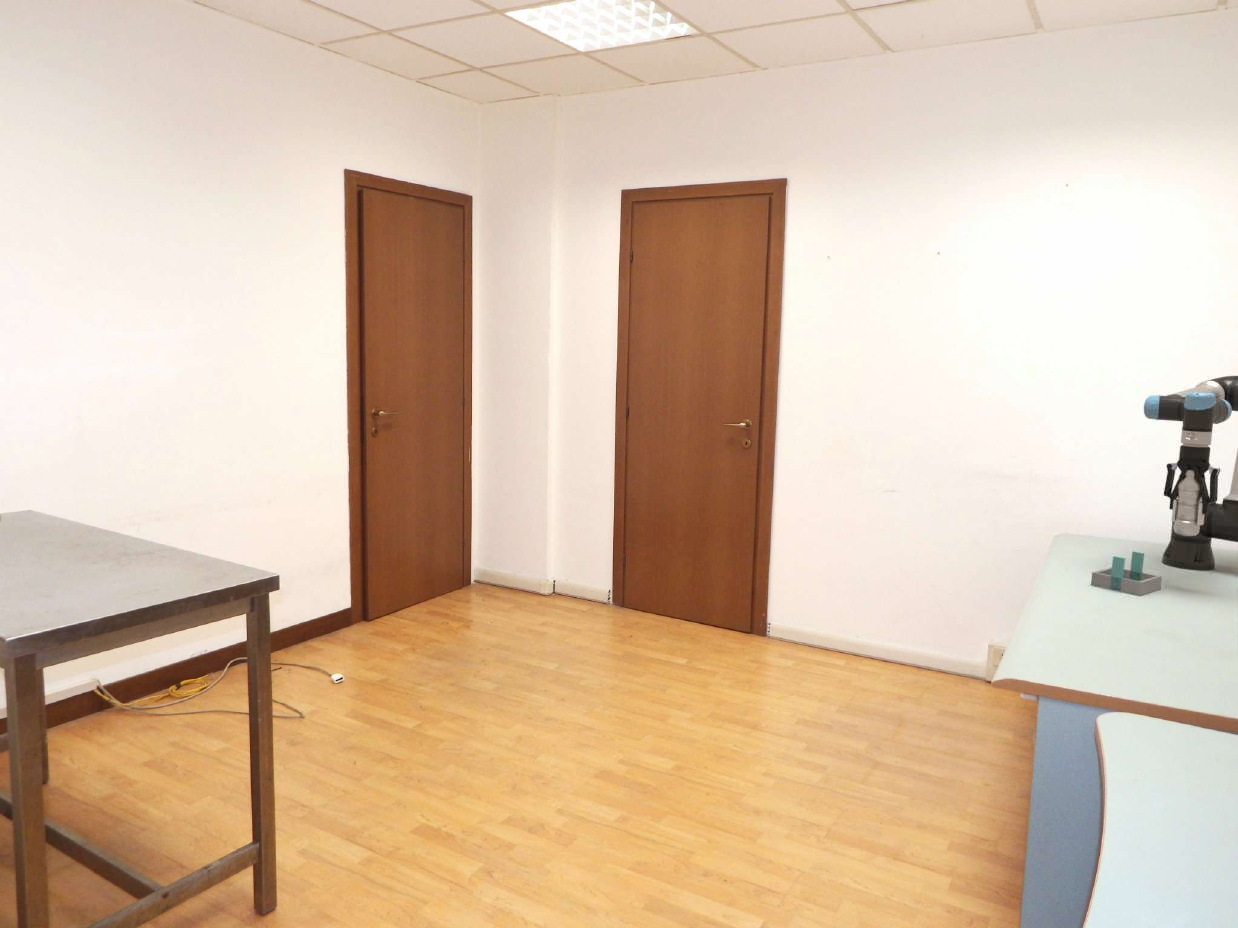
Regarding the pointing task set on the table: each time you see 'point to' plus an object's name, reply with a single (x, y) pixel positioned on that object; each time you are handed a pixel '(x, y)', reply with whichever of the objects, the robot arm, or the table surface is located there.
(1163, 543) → the table surface
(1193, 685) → the table surface
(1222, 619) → the table surface
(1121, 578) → the tray
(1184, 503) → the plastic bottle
